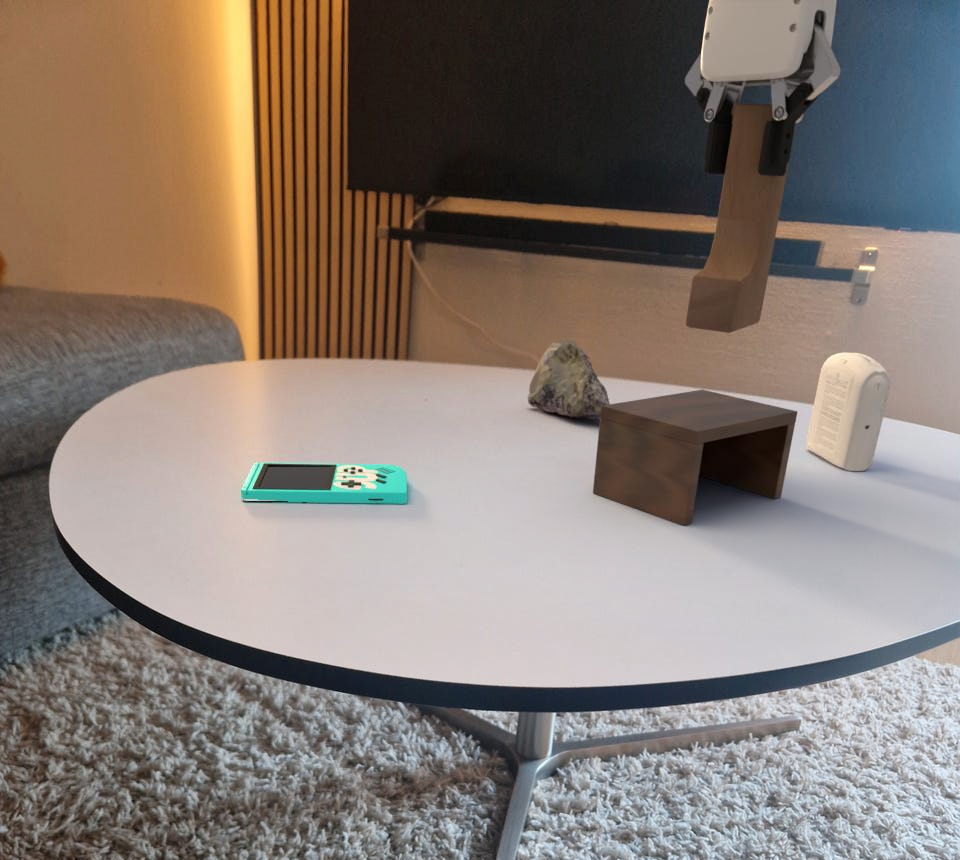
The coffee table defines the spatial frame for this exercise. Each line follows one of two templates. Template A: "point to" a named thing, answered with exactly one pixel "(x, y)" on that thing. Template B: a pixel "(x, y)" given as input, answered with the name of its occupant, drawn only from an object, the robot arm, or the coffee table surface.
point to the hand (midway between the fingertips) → (744, 172)
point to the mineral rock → (567, 383)
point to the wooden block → (739, 233)
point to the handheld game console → (326, 483)
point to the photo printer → (848, 410)
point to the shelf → (689, 450)
